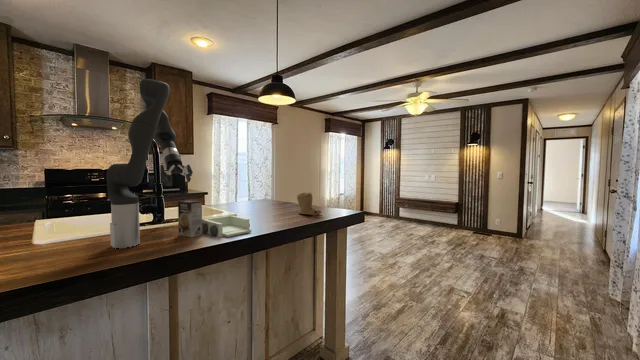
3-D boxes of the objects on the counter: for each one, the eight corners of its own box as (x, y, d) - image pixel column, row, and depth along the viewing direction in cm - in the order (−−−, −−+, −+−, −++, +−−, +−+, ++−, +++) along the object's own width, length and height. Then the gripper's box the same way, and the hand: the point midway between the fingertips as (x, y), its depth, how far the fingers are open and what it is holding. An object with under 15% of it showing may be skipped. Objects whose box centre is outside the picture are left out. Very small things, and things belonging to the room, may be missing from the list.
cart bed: (221, 239, 124) (221, 225, 123) (199, 231, 137) (199, 219, 137) (256, 231, 138) (256, 219, 137) (233, 225, 151) (233, 214, 151)
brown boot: (293, 214, 188) (293, 192, 187) (305, 212, 197) (305, 191, 196) (309, 217, 178) (309, 193, 177) (321, 214, 187) (322, 192, 186)
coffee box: (177, 235, 130) (177, 201, 129) (190, 232, 136) (189, 199, 135) (191, 237, 126) (190, 202, 125) (202, 234, 132) (202, 200, 131)
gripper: (158, 152, 138) (165, 177, 131) (188, 153, 148) (196, 176, 141) (155, 163, 142) (162, 187, 135) (185, 162, 152) (193, 185, 145)
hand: (179, 181), depth 138 cm, fingers open, 8 cm apart
